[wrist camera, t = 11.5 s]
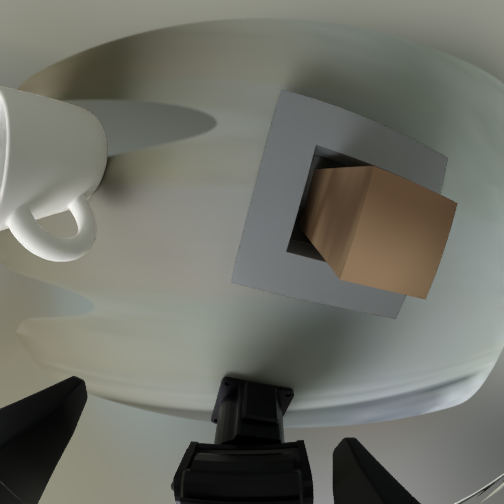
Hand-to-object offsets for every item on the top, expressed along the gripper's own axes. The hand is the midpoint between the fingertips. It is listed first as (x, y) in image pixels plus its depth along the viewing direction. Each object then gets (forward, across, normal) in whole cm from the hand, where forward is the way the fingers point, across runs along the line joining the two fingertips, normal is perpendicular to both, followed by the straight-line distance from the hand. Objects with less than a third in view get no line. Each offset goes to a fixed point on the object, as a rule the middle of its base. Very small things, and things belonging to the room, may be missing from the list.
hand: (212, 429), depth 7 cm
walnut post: (+13, -5, -7) cm, 16 cm away
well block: (+13, -5, -7) cm, 16 cm away
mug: (+13, +14, -5) cm, 20 cm away
